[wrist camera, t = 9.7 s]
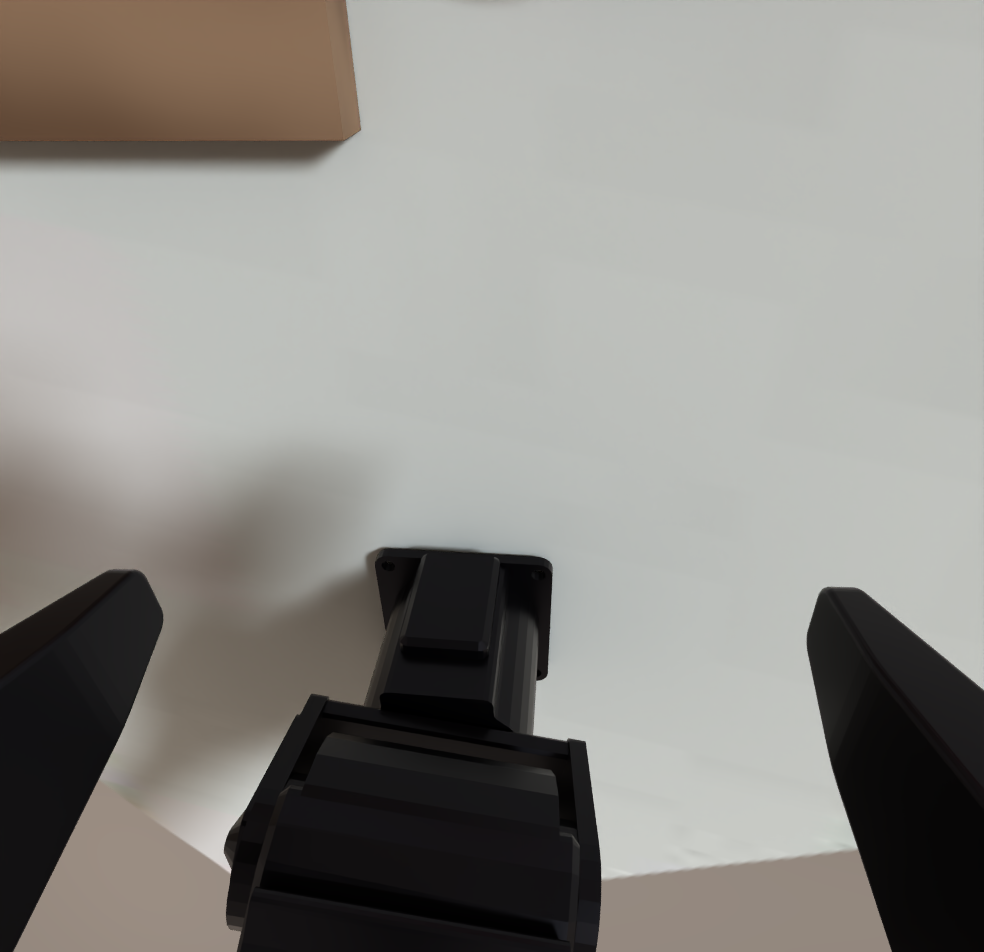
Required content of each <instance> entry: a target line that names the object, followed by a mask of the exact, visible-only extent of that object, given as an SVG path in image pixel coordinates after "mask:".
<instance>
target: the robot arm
mask: <svg viewBox="0 0 984 952" xmlns="http://www.w3.org/2000/svg"><path fill="white" fill-rule="evenodd" d="M386 561H389V562H392V563H393V564H390V563H387V562H386ZM375 568H376V574H377V580H378V586H379V592H380V598H381V605H382V611H383V617H384V623H385V629H386V633H385V636H384V640H383V643H382V646H381V650H380V653H379V656H378V660H377V663H376V666H375V670H374V673H373V676H372V680H371V683H370V686H369V690H368V693H367V696H366V700H365V703H364V706H362V705H356V704H350V703H344V702H339V701H333V700H329V697H327V696H321V695H316V694H311V695H310V697H309V699H308V701H307V703H306V705H305V707H304V709H303V711H302V712H301V714H300V715H296V717H295V719H294V720H293V722H292V724H291V726H290V728H289V730H288V732H287V734H286V735H285V737H284V739H283V741H282V743H281V745H280V747H279V749H278V750H277V752H276V754H275V756H274V758H273V760H272V762H271V763H270V765H269V767H268V769H267V771H266V773H265V775H264V777H263V778H262V780H261V782H260V784H259V786H258V788H257V790H256V792H255V793H254V795H253V797H252V799H251V801H250V803H249V805H248V806H247V808H246V810H245V811H244V812H243V814H242V815H241V816H240V817H239V819H238V820H237V821H236V823H235V824H234V825H233V827H232V828H231V830H230V831H229V833H228V836H227V838H226V842H225V846H224V854H225V856H226V858H227V861H228V863H229V865H230V867H231V869H232V870H231V877H230V886H229V891H228V897H227V907H226V920H227V926H228V927H229V929H231V930H236V931H241V936H240V940H239V944H238V949H237V952H596V947H597V939H598V931H599V920H600V906H601V859H600V848H599V840H598V832H597V825H596V817H595V809H594V802H593V794H592V787H591V779H590V771H589V764H588V756H587V749H586V742H585V741H580V740H575V739H569V738H568V740H567V741H563V740H557V739H551V738H546V737H540V736H534V735H533V727H534V710H535V693H536V681H538V680H542V679H544V678H546V677H547V674H548V655H549V635H550V615H551V595H552V574H553V567H552V564H551V563H550V562H549V561H548V560H546V559H545V558H540V557H524V556H507V555H489V554H472V553H455V552H437V551H420V550H402V549H384V550H382V551H380V552H379V554H378V556H377V559H376V562H375ZM535 570H541V571H543V572H540V573H538V572H535ZM162 625H163V612H162V609H161V607H160V605H159V603H158V600H157V598H156V596H155V594H154V592H153V590H152V588H151V586H150V584H149V582H148V580H147V578H146V577H145V575H144V574H143V573H142V572H140V571H138V570H128V569H113V570H108V571H106V572H104V573H102V574H101V575H99V576H97V577H96V578H94V579H92V580H91V581H89V582H87V583H85V584H84V585H82V586H80V587H79V588H77V589H75V590H74V591H72V592H70V593H69V594H67V595H65V596H64V597H62V598H60V599H58V600H57V601H55V602H53V603H52V604H50V605H48V606H47V607H45V608H43V609H42V610H40V611H38V612H37V613H35V614H33V615H31V616H30V617H28V618H26V619H25V620H23V621H21V622H20V623H18V624H16V625H15V626H13V627H11V628H9V629H8V630H6V631H4V632H3V633H1V634H0V952H13V951H14V949H15V947H16V945H17V943H18V941H19V939H20V937H21V935H22V933H23V931H24V929H25V927H26V925H27V923H28V921H29V919H30V917H31V915H32V913H33V911H34V909H35V907H36V905H37V903H38V901H39V899H40V897H41V895H42V893H43V891H44V889H45V887H46V885H47V883H48V881H49V879H50V876H51V875H52V872H53V871H54V869H55V866H56V864H57V862H58V860H59V858H60V856H61V854H62V852H63V850H64V848H65V846H66V844H67V842H68V840H69V838H70V836H71V834H72V832H73V830H74V828H75V826H76V824H77V822H78V820H79V818H80V816H81V814H82V812H83V810H84V808H85V806H86V804H87V802H88V800H89V798H90V796H91V794H92V792H93V790H94V788H95V786H96V783H97V782H98V780H99V778H100V776H101V774H102V772H103V770H104V768H105V766H106V764H107V762H108V760H109V758H110V755H111V753H112V751H113V749H114V747H115V745H116V743H117V741H118V739H119V737H120V735H121V733H122V730H123V728H124V726H125V723H126V721H127V718H128V716H129V714H130V711H131V709H132V706H133V703H134V701H135V698H136V695H137V693H138V690H139V687H140V685H141V682H142V679H143V677H144V674H145V672H146V669H147V666H148V664H149V661H150V658H151V656H152V653H153V650H154V648H155V645H156V642H157V640H158V637H159V634H160V632H161V629H162ZM807 651H808V656H809V661H810V666H811V671H812V676H813V681H814V686H815V690H816V695H817V700H818V705H819V710H820V715H821V720H822V724H823V729H824V734H825V739H826V744H827V749H828V753H829V757H830V762H831V766H832V770H833V773H834V776H835V780H836V783H837V786H838V789H839V792H840V795H841V798H842V802H843V805H844V808H845V811H846V814H847V817H848V820H849V823H850V826H851V829H852V832H853V835H854V838H855V841H856V844H857V847H858V850H859V853H860V856H861V859H862V862H863V865H864V868H865V871H866V874H867V877H868V880H869V884H870V886H871V889H872V893H873V896H874V899H875V901H876V905H877V908H878V911H879V914H880V917H881V920H882V923H883V926H884V929H885V932H886V935H887V938H888V941H889V944H890V947H891V950H892V952H984V690H983V689H982V688H981V687H979V686H978V685H977V684H976V683H975V682H973V681H972V680H971V679H970V678H968V677H967V676H966V675H965V674H964V673H962V672H961V671H960V670H959V669H958V668H956V667H955V666H954V665H953V664H951V663H950V662H949V661H948V660H947V659H945V658H944V657H943V656H942V655H940V654H939V653H938V652H937V651H936V650H934V649H933V648H932V647H931V646H930V645H928V644H927V643H926V642H925V641H923V640H922V639H921V638H920V637H919V636H917V635H916V634H915V633H914V632H913V631H911V630H910V629H909V628H908V627H906V626H905V625H904V624H903V623H902V622H900V621H899V620H898V619H897V618H895V617H894V616H893V615H892V614H891V613H889V612H888V611H887V610H886V609H885V608H883V607H882V606H881V605H880V604H878V603H877V602H876V601H875V600H874V599H872V598H871V597H870V596H869V595H867V594H866V593H865V592H864V591H862V590H860V589H858V588H854V587H826V588H824V589H822V590H821V592H820V593H819V596H818V598H817V602H816V605H815V608H814V612H813V615H812V618H811V622H810V625H809V628H808V632H807Z"/></svg>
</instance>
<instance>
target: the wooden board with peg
mask: <svg viewBox="0 0 984 952" xmlns="http://www.w3.org/2000/svg"><path fill="white" fill-rule="evenodd" d="M360 130H361V126H360V117H359V109H358V100H357V92H356V84H355V75H354V67H353V58H352V50H351V42H350V33H349V25H348V16H347V8H346V0H0V141H311V140H345V139H347V138H349V137H350V136H352V135H354V134H355V133H357V132H358V131H360Z"/></svg>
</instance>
